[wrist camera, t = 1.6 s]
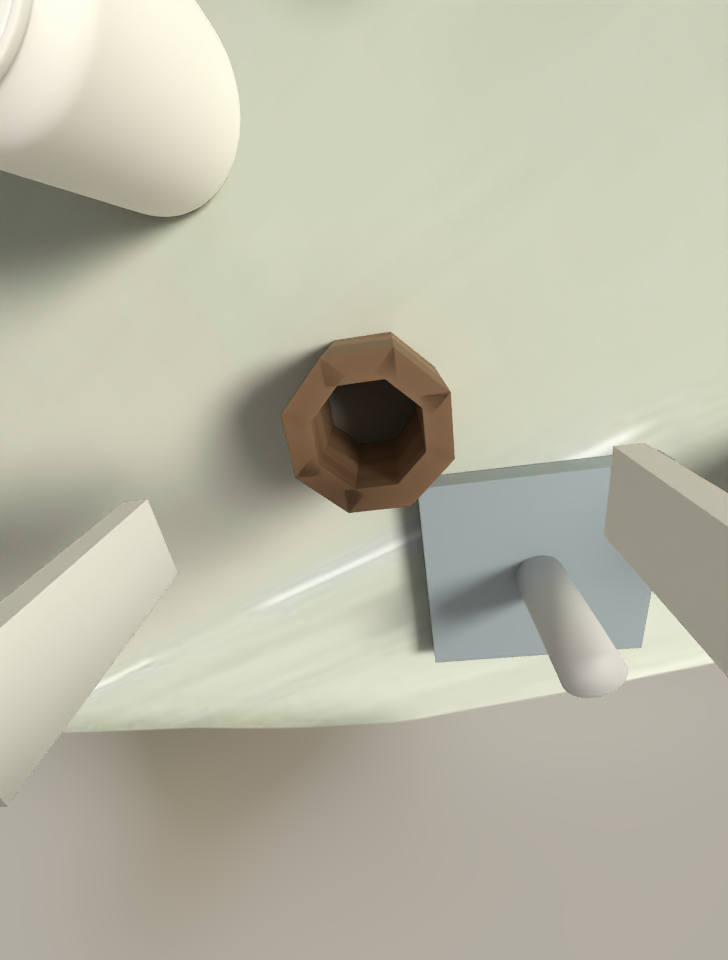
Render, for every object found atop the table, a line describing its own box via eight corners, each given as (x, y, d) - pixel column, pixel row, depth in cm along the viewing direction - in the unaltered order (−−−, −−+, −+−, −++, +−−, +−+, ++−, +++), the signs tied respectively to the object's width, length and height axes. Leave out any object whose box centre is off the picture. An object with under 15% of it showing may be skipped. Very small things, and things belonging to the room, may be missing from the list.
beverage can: (122, 243, 21) (-169, 194, 10) (22, 31, 17) (-579, -396, 6) (273, 184, 19) (132, 53, 8) (194, -56, 16) (-195, -767, 5)
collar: (321, 468, 25) (305, 518, 20) (296, 346, 22) (268, 365, 17) (440, 453, 25) (457, 501, 19) (430, 325, 22) (447, 338, 16)
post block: (433, 646, 31) (451, 773, 23) (415, 478, 25) (431, 568, 17) (629, 631, 30) (723, 761, 22) (658, 449, 24) (800, 534, 16)
